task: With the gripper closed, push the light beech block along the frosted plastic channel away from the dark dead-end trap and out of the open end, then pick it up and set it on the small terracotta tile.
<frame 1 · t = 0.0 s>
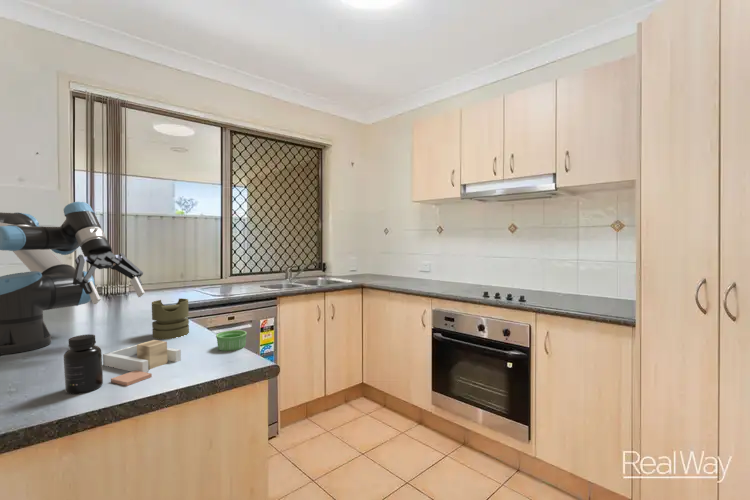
hand: (120, 298, 117), 15 cm above the counter, tool tilted 35°, fingers open, 13 cm apart
ramekin: (231, 348, 116), on the counter
supplement bottle: (84, 389, 85), on the counter
channel: (142, 362, 102), on the counter
block: (152, 365, 100), on the counter
tile: (131, 379, 90), on the counter
piston: (171, 335, 131), on the counter
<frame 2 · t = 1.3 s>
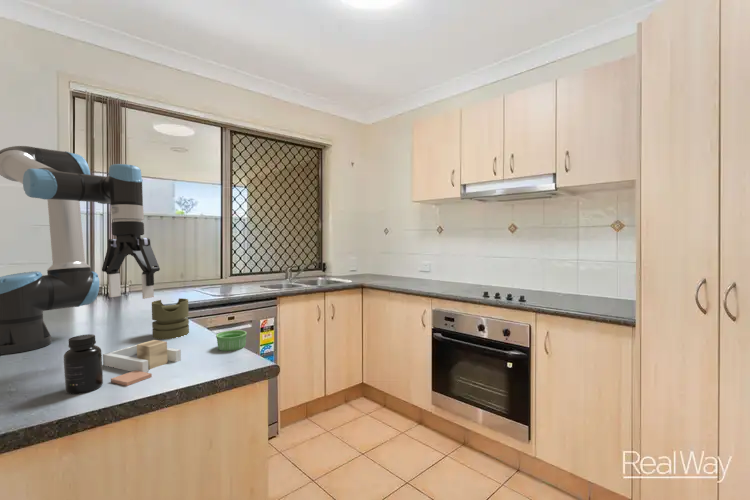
hand: (131, 297, 104), 18 cm above the counter, tool pointing down, fingers open, 13 cm apart
nothing on the counter moved.
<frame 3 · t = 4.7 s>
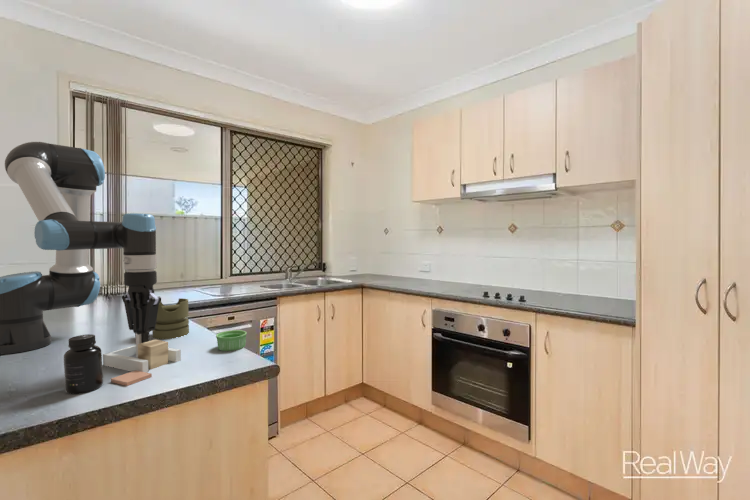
hand: (142, 356, 102), 2 cm above the counter, tool pointing down, fingers closed
block: (153, 364, 100), on the counter, touching gripper
everything else where it was.
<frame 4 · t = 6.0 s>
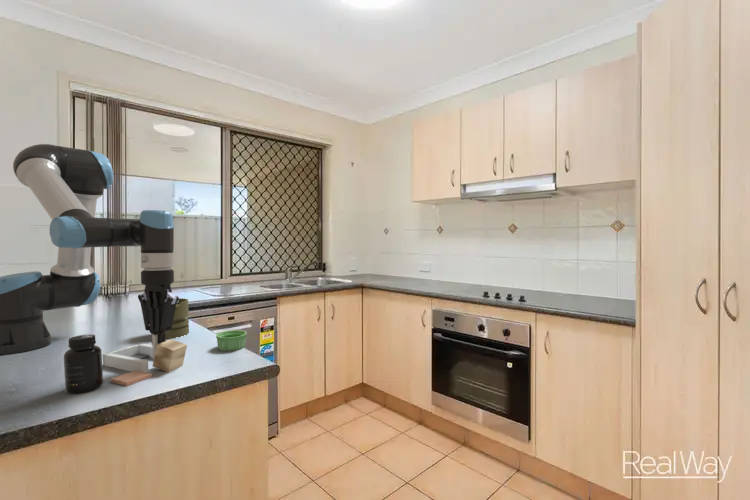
hand: (158, 357, 98), 3 cm above the counter, tool pointing down, fingers closed
block: (167, 366, 98), point 1 cm above the counter, tilted 15°, touching gripper
everything else where it was.
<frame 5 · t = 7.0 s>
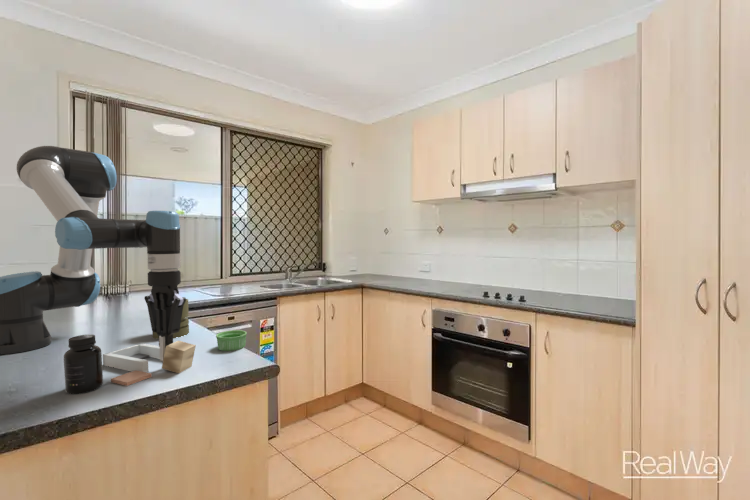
hand: (166, 359, 98), 2 cm above the counter, tool pointing down, fingers closed
block: (176, 367, 97), on the counter, tilted 13°, touching gripper
everything else where it was.
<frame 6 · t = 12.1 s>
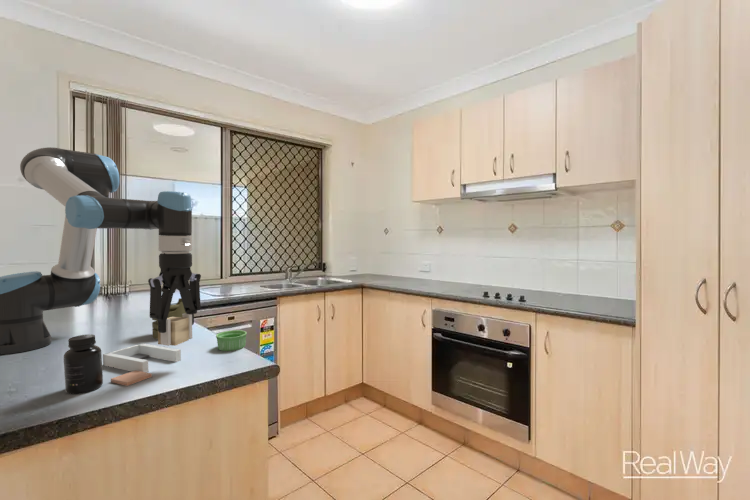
hand: (176, 341, 96), 8 cm above the counter, tool pointing down, fingers closed on block, 6 cm apart
block: (173, 342, 97), point 7 cm above the counter, touching gripper
everything else where it was.
when the fingers open (1 cm above the counter, at t = 15.6 s): block stays where it is, resting on tile.
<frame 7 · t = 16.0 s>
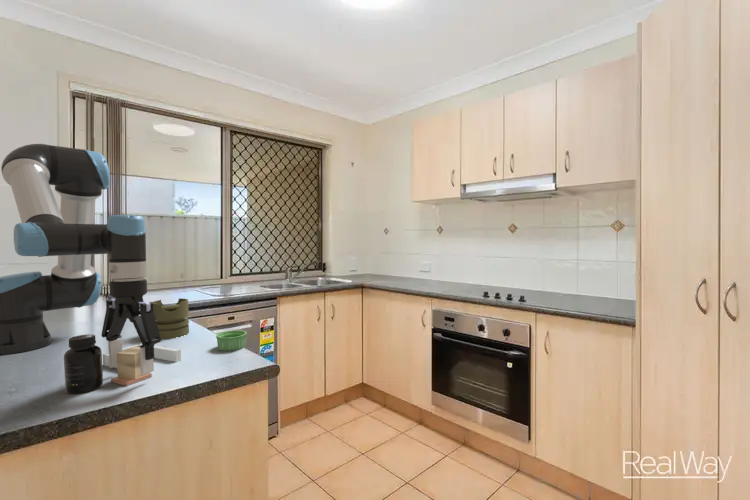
hand: (131, 369, 90), 2 cm above the counter, tool pointing down, fingers open, 11 cm apart
block: (135, 374, 91), point 1 cm above the counter, touching tile
everything else where it was.
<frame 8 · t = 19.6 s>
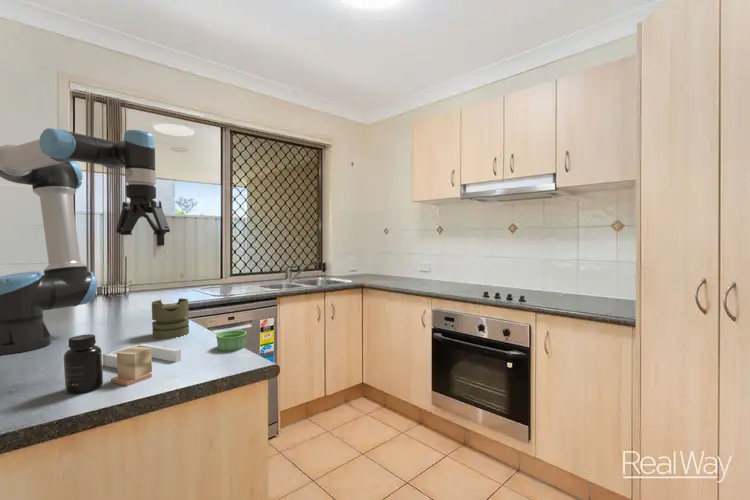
hand: (143, 257, 110), 29 cm above the counter, tool pointing down, fingers open, 13 cm apart
nothing on the counter moved.
at the end: block inside the target area on the tile (1.0 cm from its centre), point 0.8 cm above the tile's base; block tilted 0°; the gripper is holding nothing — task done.
